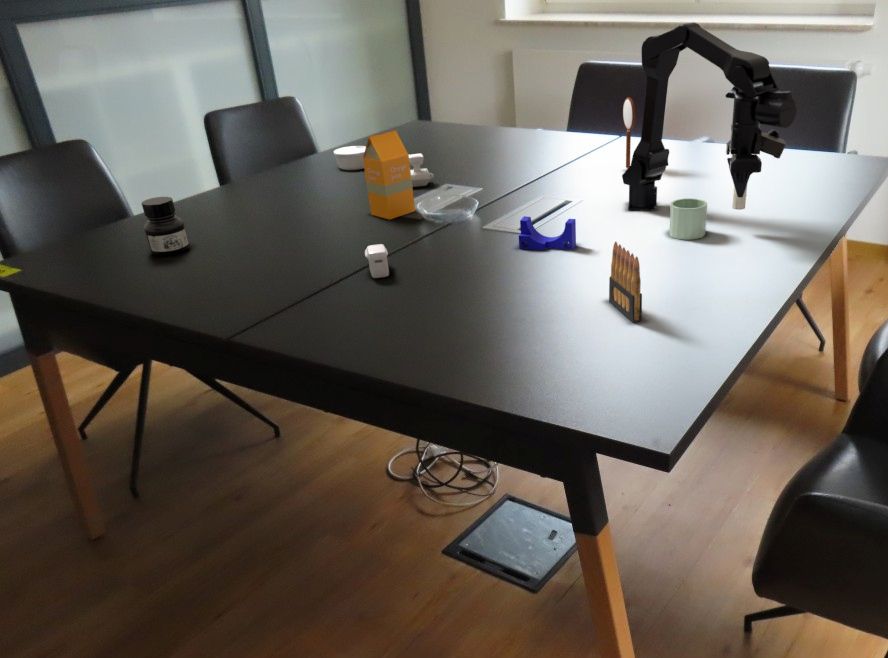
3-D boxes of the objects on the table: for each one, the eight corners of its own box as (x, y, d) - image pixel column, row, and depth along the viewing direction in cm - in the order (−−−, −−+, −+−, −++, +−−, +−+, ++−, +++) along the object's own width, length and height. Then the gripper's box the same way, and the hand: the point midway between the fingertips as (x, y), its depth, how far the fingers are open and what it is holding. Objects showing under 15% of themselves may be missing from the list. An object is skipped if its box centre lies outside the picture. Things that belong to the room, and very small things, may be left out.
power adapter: (365, 262, 182) (361, 237, 179) (387, 260, 183) (384, 234, 180) (369, 280, 173) (365, 253, 170) (392, 277, 173) (388, 250, 170)
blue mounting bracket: (519, 248, 185) (517, 222, 181) (525, 242, 188) (524, 216, 185) (570, 252, 181) (569, 225, 178) (575, 245, 185) (575, 219, 181)
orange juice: (415, 210, 214) (406, 131, 203) (389, 219, 209) (378, 138, 198) (396, 206, 219) (386, 128, 208) (370, 214, 213) (358, 135, 203)
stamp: (404, 189, 232) (400, 159, 228) (402, 183, 238) (398, 154, 233) (435, 186, 233) (432, 156, 229) (433, 180, 239) (430, 151, 234)
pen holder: (669, 239, 184) (670, 208, 181) (669, 228, 191) (670, 198, 187) (705, 239, 183) (707, 208, 179) (704, 228, 190) (706, 198, 186)
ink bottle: (151, 259, 192) (136, 209, 185) (147, 249, 198) (132, 200, 192) (194, 251, 195) (181, 201, 189) (189, 241, 202) (175, 192, 196)
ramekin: (379, 164, 259) (377, 147, 257) (355, 172, 252) (353, 155, 249) (353, 161, 265) (350, 144, 262) (329, 169, 257) (326, 152, 254)
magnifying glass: (635, 174, 233) (637, 99, 223) (629, 174, 233) (631, 100, 222) (625, 166, 240) (627, 94, 230) (620, 167, 240) (621, 95, 230)
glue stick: (732, 209, 182) (735, 173, 178) (731, 205, 185) (734, 169, 180) (746, 209, 182) (749, 173, 177) (745, 205, 184) (748, 169, 180)
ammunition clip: (608, 301, 156) (609, 240, 150) (617, 299, 157) (618, 239, 151) (632, 322, 148) (634, 259, 141) (641, 320, 148) (643, 257, 142)
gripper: (790, 130, 164) (782, 207, 173) (780, 111, 180) (773, 183, 188) (733, 131, 166) (727, 207, 174) (728, 113, 182) (723, 183, 190)
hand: (739, 195), depth 182 cm, fingers closed on glue stick, 3 cm apart
